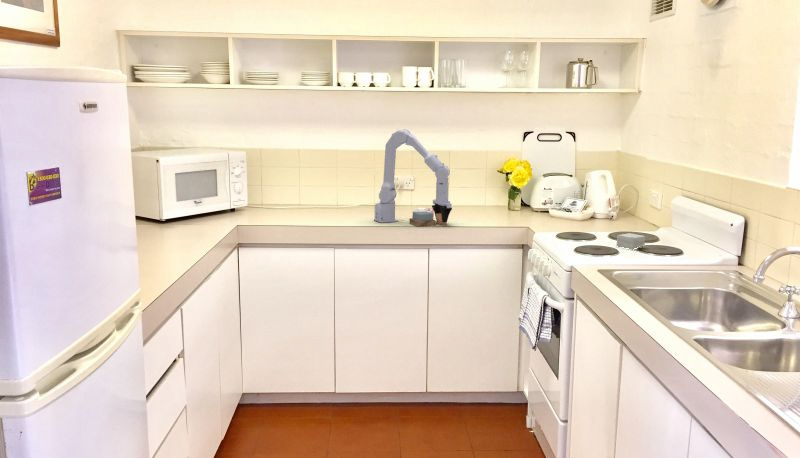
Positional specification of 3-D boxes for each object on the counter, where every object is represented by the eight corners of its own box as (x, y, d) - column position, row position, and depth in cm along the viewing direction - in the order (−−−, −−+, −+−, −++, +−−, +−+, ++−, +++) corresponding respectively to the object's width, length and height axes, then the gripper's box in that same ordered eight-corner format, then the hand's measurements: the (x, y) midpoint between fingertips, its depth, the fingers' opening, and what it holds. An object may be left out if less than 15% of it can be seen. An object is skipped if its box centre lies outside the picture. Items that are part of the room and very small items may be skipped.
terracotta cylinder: (439, 225, 313) (439, 214, 312) (434, 223, 317) (434, 213, 316) (448, 224, 315) (449, 214, 314) (443, 222, 319) (443, 212, 318)
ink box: (433, 207, 331) (430, 211, 320) (433, 217, 332) (429, 222, 321) (416, 207, 333) (412, 211, 322) (416, 217, 334) (412, 221, 322)
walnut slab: (418, 228, 308) (418, 221, 308) (409, 224, 316) (409, 218, 316) (435, 226, 312) (435, 220, 312) (426, 223, 320) (426, 217, 320)
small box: (628, 245, 275) (629, 232, 274) (644, 248, 269) (645, 235, 268) (615, 247, 271) (616, 234, 270) (632, 250, 265) (633, 238, 264)
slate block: (419, 221, 309) (419, 214, 309) (412, 218, 315) (413, 212, 315) (433, 220, 312) (433, 213, 311) (426, 217, 318) (426, 211, 318)
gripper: (457, 193, 309) (456, 223, 311) (442, 189, 321) (441, 218, 324) (444, 194, 306) (443, 224, 308) (429, 190, 318) (428, 218, 321)
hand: (441, 221), depth 316 cm, fingers open, 5 cm apart
